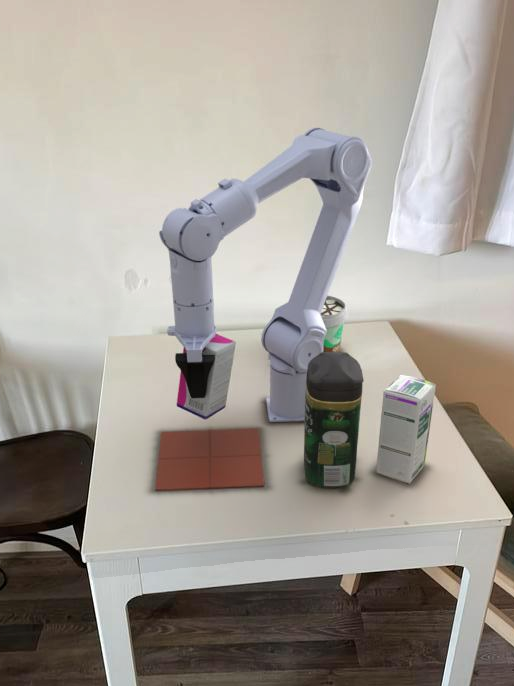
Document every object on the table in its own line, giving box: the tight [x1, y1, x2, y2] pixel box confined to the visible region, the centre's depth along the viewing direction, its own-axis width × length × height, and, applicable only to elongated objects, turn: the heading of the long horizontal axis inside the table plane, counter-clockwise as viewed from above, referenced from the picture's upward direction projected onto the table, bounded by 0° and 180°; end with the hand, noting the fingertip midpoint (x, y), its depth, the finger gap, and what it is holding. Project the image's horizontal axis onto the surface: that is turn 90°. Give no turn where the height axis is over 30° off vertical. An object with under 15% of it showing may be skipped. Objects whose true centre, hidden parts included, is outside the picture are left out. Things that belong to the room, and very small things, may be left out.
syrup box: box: [375, 374, 436, 485], centre depth 102 cm, size 6×6×14 cm
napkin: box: [155, 428, 265, 492], centre depth 108 cm, size 16×16×1 cm
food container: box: [321, 295, 349, 352], centre depth 136 cm, size 12×6×10 cm, turn 168°
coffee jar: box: [303, 351, 364, 489], centre depth 100 cm, size 10×8×19 cm
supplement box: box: [176, 333, 237, 421], centre depth 105 cm, size 6×6×12 cm
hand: (198, 384), depth 106 cm, fingers closed on supplement box, 7 cm apart
